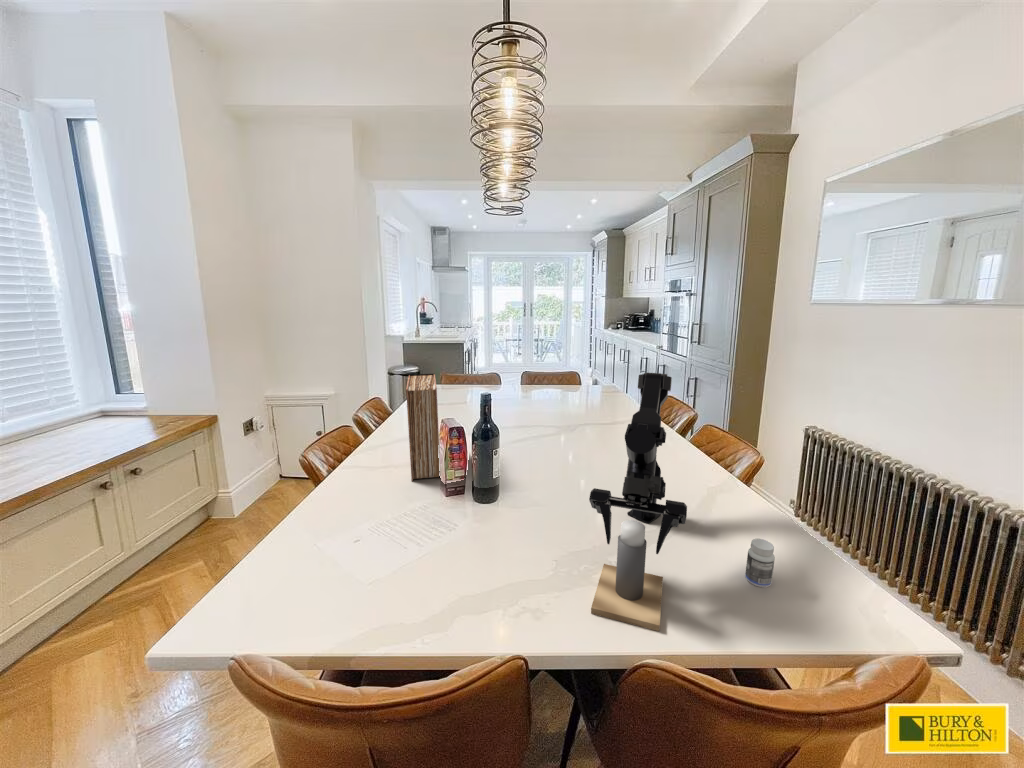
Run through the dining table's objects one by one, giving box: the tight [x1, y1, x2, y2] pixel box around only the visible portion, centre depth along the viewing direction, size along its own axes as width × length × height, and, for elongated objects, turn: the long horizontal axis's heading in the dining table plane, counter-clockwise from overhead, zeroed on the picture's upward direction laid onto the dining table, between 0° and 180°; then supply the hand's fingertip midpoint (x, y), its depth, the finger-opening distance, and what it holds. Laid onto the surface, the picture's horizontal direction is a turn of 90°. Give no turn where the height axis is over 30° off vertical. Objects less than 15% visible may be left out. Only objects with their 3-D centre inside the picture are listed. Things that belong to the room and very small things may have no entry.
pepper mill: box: [615, 519, 648, 601], centre depth 81 cm, size 5×5×14 cm
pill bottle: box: [744, 538, 776, 588], centre depth 87 cm, size 5×5×8 cm
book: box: [405, 373, 440, 482], centre depth 145 cm, size 25×9×30 cm, turn 11°
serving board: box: [590, 563, 664, 632], centre depth 83 cm, size 14×12×1 cm
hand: (632, 548), depth 83 cm, fingers open, 9 cm apart
